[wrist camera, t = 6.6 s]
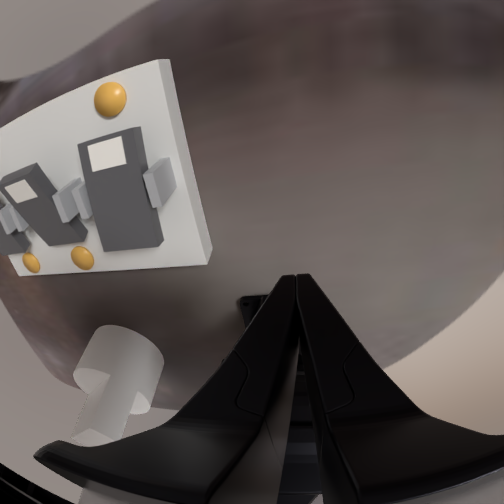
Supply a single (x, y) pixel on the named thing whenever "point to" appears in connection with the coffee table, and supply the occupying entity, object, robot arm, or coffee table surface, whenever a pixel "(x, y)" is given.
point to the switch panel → (72, 179)
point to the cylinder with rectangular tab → (115, 383)
